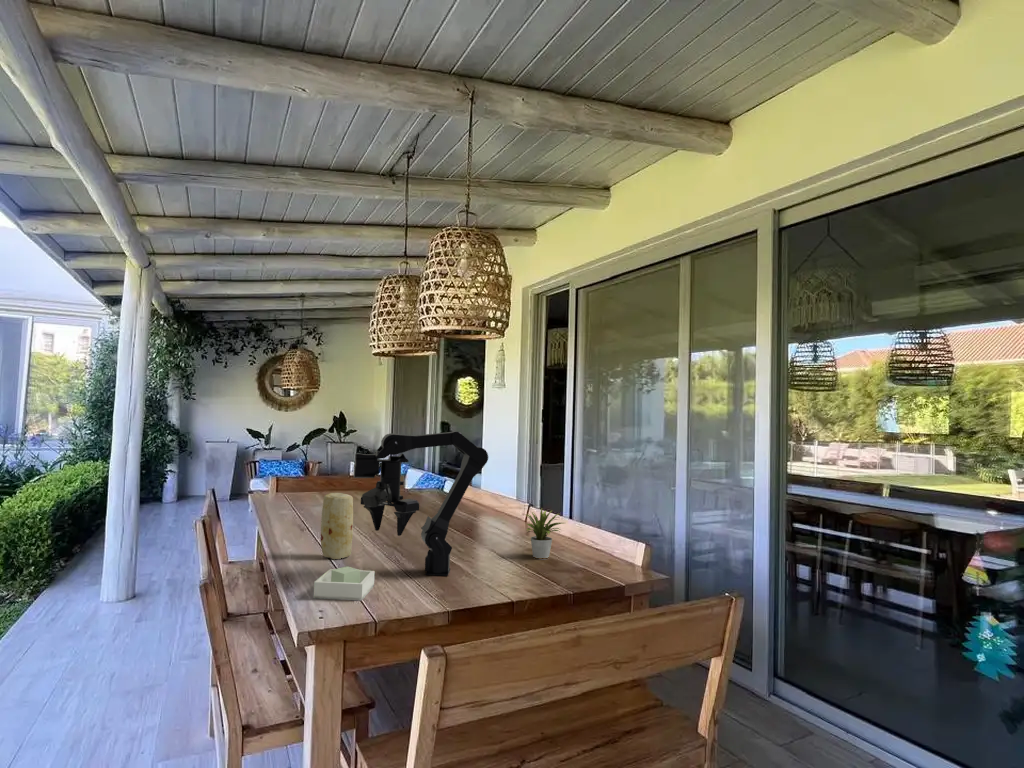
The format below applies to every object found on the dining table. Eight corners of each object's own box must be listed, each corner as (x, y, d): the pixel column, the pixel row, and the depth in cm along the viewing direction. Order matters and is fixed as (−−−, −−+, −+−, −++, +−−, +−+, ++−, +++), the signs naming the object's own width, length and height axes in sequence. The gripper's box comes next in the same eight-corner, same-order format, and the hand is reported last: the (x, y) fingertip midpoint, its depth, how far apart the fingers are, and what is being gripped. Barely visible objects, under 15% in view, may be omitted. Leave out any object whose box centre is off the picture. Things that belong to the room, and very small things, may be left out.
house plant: (537, 566, 186) (538, 513, 186) (508, 556, 196) (510, 506, 197) (569, 560, 195) (571, 509, 195) (541, 551, 205) (542, 503, 206)
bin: (373, 586, 159) (374, 570, 160) (361, 600, 147) (362, 584, 148) (329, 584, 160) (330, 569, 160) (313, 598, 148) (314, 582, 148)
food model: (352, 555, 191) (355, 492, 192) (350, 560, 184) (353, 495, 185) (320, 555, 189) (324, 491, 190) (317, 560, 183) (320, 494, 184)
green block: (346, 585, 157) (347, 566, 157) (359, 589, 154) (360, 569, 154) (330, 589, 153) (331, 570, 153) (343, 593, 150) (344, 573, 150)
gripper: (346, 476, 169) (343, 532, 169) (391, 483, 158) (389, 543, 158) (376, 474, 178) (374, 526, 178) (421, 480, 167) (419, 536, 167)
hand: (388, 533), depth 170 cm, fingers open, 9 cm apart
